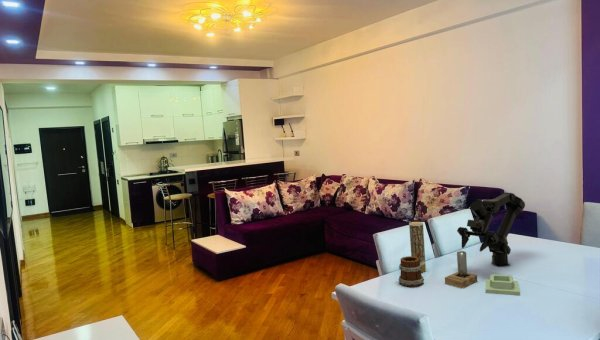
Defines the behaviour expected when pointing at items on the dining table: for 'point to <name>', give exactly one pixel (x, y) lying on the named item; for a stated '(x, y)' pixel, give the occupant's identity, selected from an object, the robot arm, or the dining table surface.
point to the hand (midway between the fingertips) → (471, 249)
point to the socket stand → (502, 285)
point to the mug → (411, 271)
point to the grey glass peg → (462, 264)
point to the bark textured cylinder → (417, 242)
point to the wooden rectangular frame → (460, 280)
